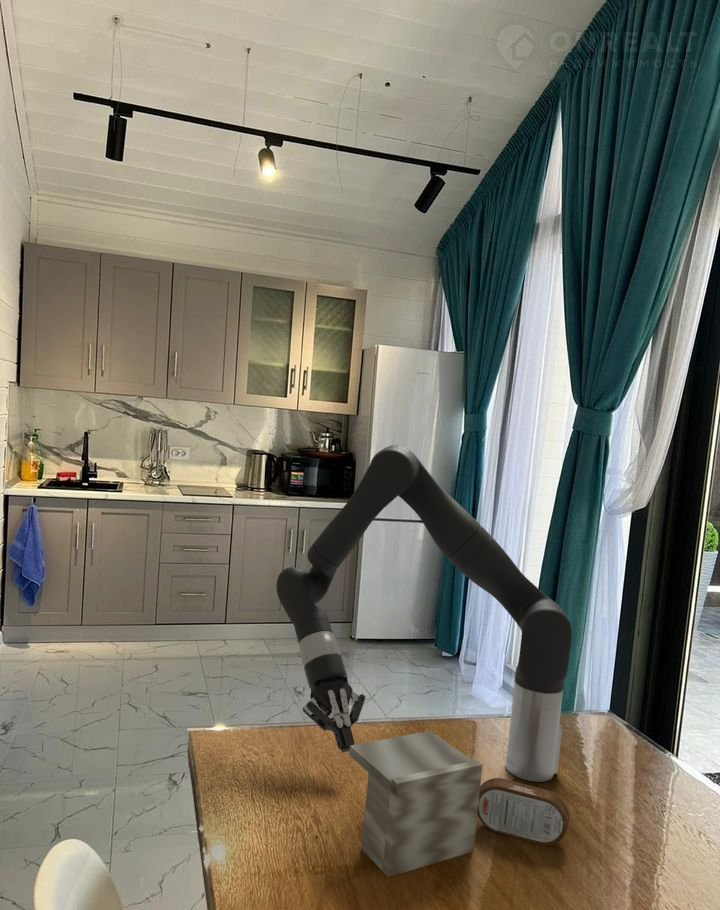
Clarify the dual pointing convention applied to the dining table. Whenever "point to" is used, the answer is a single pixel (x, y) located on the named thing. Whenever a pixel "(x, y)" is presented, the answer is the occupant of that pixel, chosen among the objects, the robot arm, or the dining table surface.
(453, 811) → the overhanging lid box
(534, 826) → the tin
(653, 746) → the dining table surface
